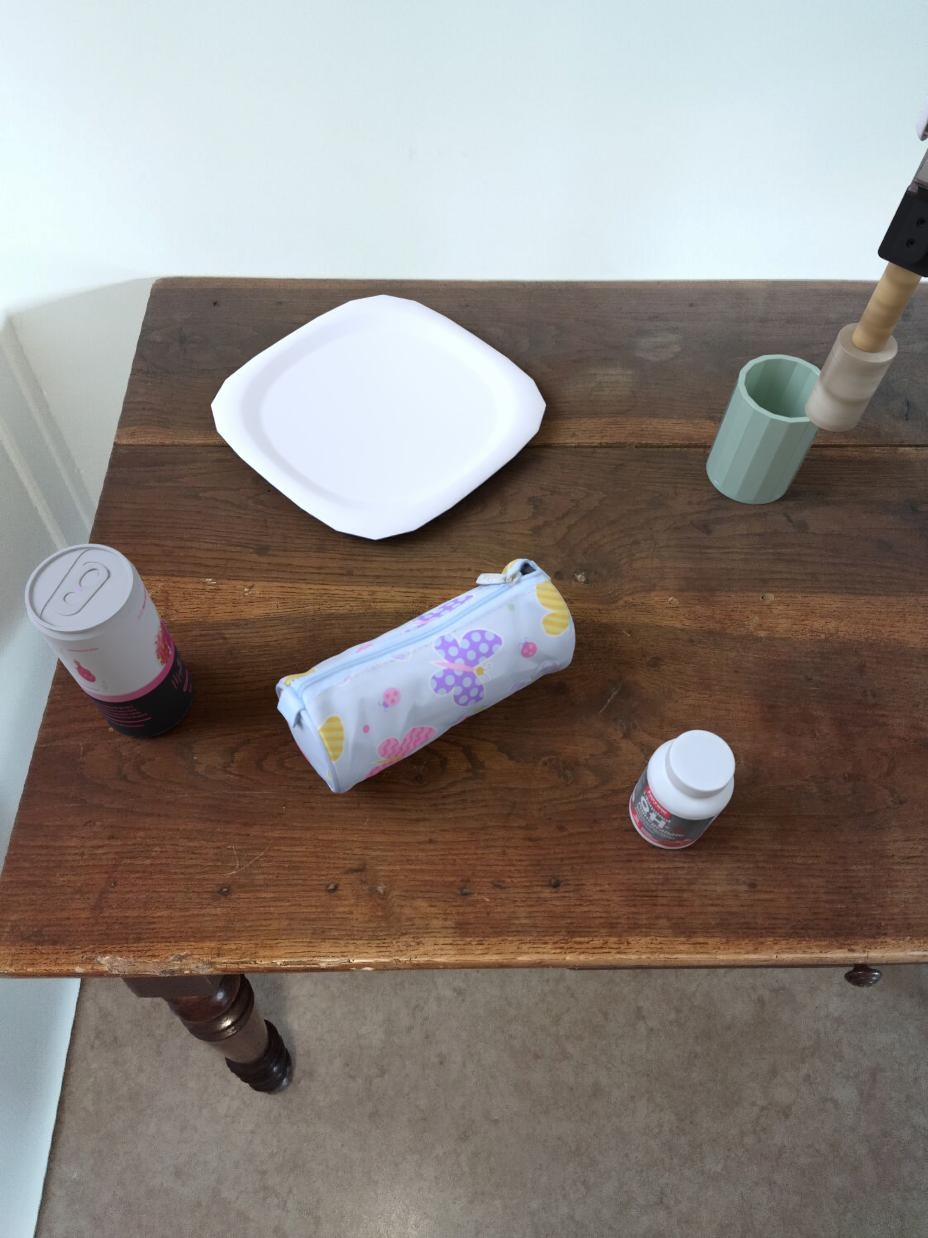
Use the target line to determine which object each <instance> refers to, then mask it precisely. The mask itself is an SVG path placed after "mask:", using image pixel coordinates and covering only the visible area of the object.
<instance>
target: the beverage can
mask: <svg viewBox="0 0 928 1238" xmlns="http://www.w3.org/2000/svg"><path fill="white" fill-rule="evenodd" d="M24 602H25V607H26V612H27V616H28V617H29V620H30V621H31V623H32V624H33V626H34V627H35V628H36V630H37V631H38V633H39V634H40V635H41V636H42V638H43V639H44V640H45V642H46V643H47V644H48V645H49V648H51V650H52V651H53V652H54V653H55V655H56V656H57V657H58V658H59V660H60V662H61V663H62V664H63V666H64V667H65V668H66V669H67V671H68V672H69V673H70V675H71V676H72V677H73V679H74V680H75V681H76V683H77V684H78V685H79V686H80V687H81V689H82V690H83V692H84V693H85V694H86V696H87V697H88V698H89V699H90V701H91V702H92V703H93V705H94V706H95V708H96V709H97V710H98V712H99V713H100V714H101V715H102V717H103V718H104V719H105V720H106V722H107V723H108V724H109V726H110V727H111V728H113V729H114V731H116V732H118V733H120V734H121V735H124V736H127V737H132V738H149V737H153V736H154V737H155V736H158V735H160V734H163V733H166V732H167V731H169V730H171V729H172V728H174V727H175V726H176V725H177V724H179V723H180V722H181V721H182V720H183V719H184V717H185V716H186V715H187V713H188V711H189V710H190V708H191V706H192V704H193V702H194V701H193V700H194V697H195V686H194V685H195V684H194V680H193V678H192V676H191V674H190V673H191V672H189V669H188V668H187V665H186V663H185V662H184V659H183V658H182V656H181V654H180V652H179V650H178V648H177V647H176V645H175V642H174V640H173V638H172V636H171V634H170V632H169V631H168V629H167V627H166V625H165V622H164V620H163V619H162V617H161V614H160V613H159V611H158V609H157V607H156V605H155V603H154V601H153V599H152V597H151V595H150V594H149V591H148V590H147V587H146V586H145V583H144V582H143V580H142V577H141V576H140V574H139V572H138V570H137V568H136V567H135V565H134V564H133V563H132V561H131V560H130V559H128V558H127V557H125V555H123V554H122V552H120V551H119V550H117V549H115V548H113V547H111V546H108V545H104V544H100V543H80V544H76V545H71V546H67V547H65V548H61V549H60V550H58V551H56V552H54V553H53V554H51V555H49V556H48V557H47V558H45V559H44V560H43V561H42V562H41V563H40V564H38V565H37V567H36V568H35V569H34V570H33V571H32V573H31V575H30V576H29V578H28V580H27V583H26V585H25V589H24Z"/></svg>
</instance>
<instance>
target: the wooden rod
mask: <svg viewBox="0 0 928 1238" xmlns="http://www.w3.org/2000/svg"><path fill="white" fill-rule="evenodd" d="M887 262H888V261H887ZM922 278H923V277H922V276H920V275H917V274H915V273H913V272H911V271H909V270H906V269H904V268H902V267H900V266H897V265H895V264H893V263H891V262H888V263H887V265H886V267H885V269H884V271H883V273H882V275H881V276H880V279H879V281H878V283H877V285H876V287H875V289H874V291H873V293H872V295H871V297H870V299H869V301H868V303H867V305H866V308H865V309H864V312H863V313H862V315H861V316H860V317H861V318H860V319H859V322H853V323H849V324H846V325H845V326H844V327H842V328H841V329H840V330H839V332H838V334H837V337H836V339H835V341H834V343H833V345H832V347H831V349H830V351H829V354H828V356H827V358H826V359H825V361H824V364H823V366H822V368H821V369H820V371H821V372H820V374H819V376H818V379H817V381H816V383H815V385H814V387H813V389H812V391H811V393H810V395H809V398H808V400H807V402H806V404H805V412H806V415H807V417H808V418H809V419H810V421H811V422H813V423H814V424H815V425H816V426H818V427H820V429H822V430H825V431H829V432H833V433H843V432H848V431H851V430H853V429H854V428H855V427H856V426H857V425H858V424H859V421H860V420H861V419H862V416H863V415H864V413H865V411H866V410H867V407H868V405H869V404H870V402H871V400H872V398H873V396H874V394H875V393H876V391H877V389H878V388H879V386H880V384H881V382H882V380H883V379H884V377H885V375H886V373H887V372H888V370H889V368H890V366H891V364H892V362H893V361H894V359H895V357H896V355H897V353H898V350H899V349H898V348H899V347H898V346H899V345H898V342H897V340H896V338H895V337H894V336H893V332H894V330H895V328H896V327H897V325H898V323H899V321H900V319H901V317H902V315H903V313H904V311H905V310H906V308H907V306H908V304H909V302H910V301H911V298H912V296H913V295H914V294H915V291H916V289H917V287H918V286H919V284H920V282H921V280H922Z"/></svg>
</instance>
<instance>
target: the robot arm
mask: <svg viewBox="0 0 928 1238" xmlns="http://www.w3.org/2000/svg"><path fill="white" fill-rule="evenodd" d="M915 130H916V134H917V137H918V139H919V141H921V142H924V141H926V140H927V139H928V94H927V95H926V97H925V100H924V102H923V105H922V107H921V110H920V112H919V115H918V118H917V121H916V124H915ZM877 255H878V257H879V258H881V259H882V260H884V261H886V262H891V263H893V264H895V265H897V266H900V267H902V268H904V269H906V270H909V271H911V272H913V273H915V274H917V275H920V276H922V278H924V279H925V278H926V279H927V278H928V148H927V149H926V151H925V153H924V155H923V157H922V159H921V161H920V163H919V165H918V167H917V169H916V172H915V173H914V176H913V178H912V180H911V182H910V184H909V185H908V186H907V187H906V189H905V192H904V194H903V196H902V198H901V200H900V202H899V204H898V206H897V209H896V210H895V213H894V215H893V217H892V219H891V220H890V223H889V225H888V227H887V230H886V232H885V234H884V236H883V238H882V240H881V242H880V245H879V247H878V248H877Z"/></svg>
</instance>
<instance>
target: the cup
mask: <svg viewBox="0 0 928 1238" xmlns="http://www.w3.org/2000/svg"><path fill="white" fill-rule="evenodd" d="M820 372H821V369H819V368H818V367H817V366H816V365H814V364H812V363H810V362H808V361H806V360H805V359H802V358H801V357H797V356H792V355H788V354H787V355H786V354H781V353H779V354H777V353H776V354H763V355H761V356H758V357H756V358H753V359H751V360H749V361H748V362H747V363H746V364H745V365H744V366H743V367H742V368H741V369H740V370H739V373H738V376H737V378H736V381H735V383H734V386H733V388H732V391H731V394H730V397H729V400H728V401H727V404H726V407H725V410H724V412H723V414H722V417H721V420H720V423H719V425H718V428H717V431H716V433H715V436H714V438H713V441H712V443H711V446H710V449H709V452H708V456H707V458H706V463H705V470H706V474H707V476H708V480H709V481H710V483H711V484H712V485H713V486H714V488H715V489H716V490H717V491H718V492H719V493H721V494H723V495H724V496H725V497H727V498H729V499H730V500H733V501H736V502H739V503H742V504H747V505H765V504H766V505H767V504H770V503H773V502H775V501H777V500H778V499H780V498H781V497H783V496H784V495H785V494H786V493H787V492H788V491H789V488H790V486H791V485H792V484H793V482H794V480H795V478H796V476H797V474H798V472H799V471H800V469H801V467H802V464H803V463H804V461H805V459H806V457H807V456H808V453H809V451H810V449H811V448H812V445H813V444H814V442H815V440H816V438H817V436H818V434H819V432H820V430H821V428H820V427H818V426H816V425H815V424H814V423H813V422H811V421H810V419H809V418H808V417H807V415H806V412H805V404H806V402H807V400H808V398H809V395H810V393H811V391H812V389H813V387H814V385H815V383H816V381H817V379H818V376H819V374H820Z"/></svg>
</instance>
